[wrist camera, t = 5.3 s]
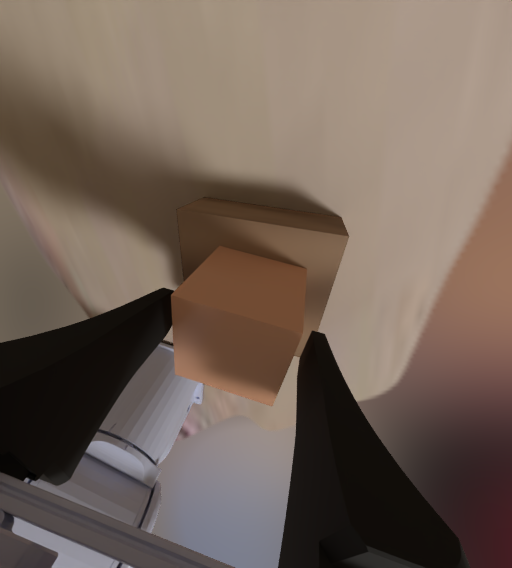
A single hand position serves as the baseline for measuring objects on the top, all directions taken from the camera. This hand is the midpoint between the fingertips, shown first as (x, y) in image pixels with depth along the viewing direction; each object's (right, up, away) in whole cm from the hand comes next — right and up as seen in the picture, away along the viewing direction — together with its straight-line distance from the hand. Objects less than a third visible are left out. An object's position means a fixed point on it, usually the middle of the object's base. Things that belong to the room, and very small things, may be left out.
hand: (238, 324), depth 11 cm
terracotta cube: (+1, +1, +2) cm, 3 cm away
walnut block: (+1, +3, +6) cm, 7 cm away
